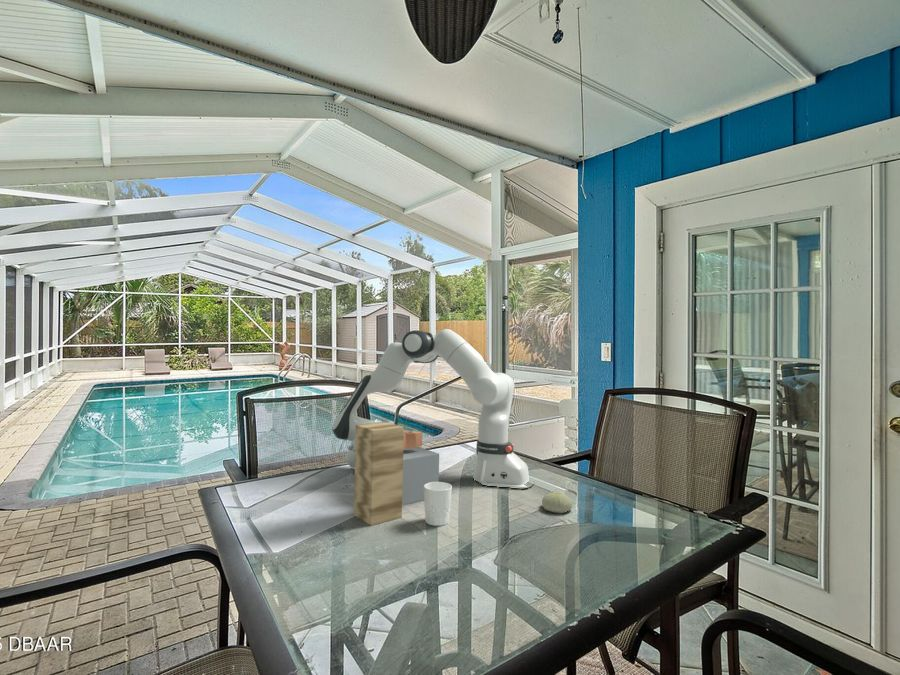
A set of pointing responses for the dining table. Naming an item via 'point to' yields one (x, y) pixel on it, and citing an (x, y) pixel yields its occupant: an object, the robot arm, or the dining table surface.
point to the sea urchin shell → (557, 502)
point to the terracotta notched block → (412, 439)
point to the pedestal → (378, 472)
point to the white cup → (437, 503)
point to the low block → (418, 473)
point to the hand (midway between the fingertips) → (389, 432)
